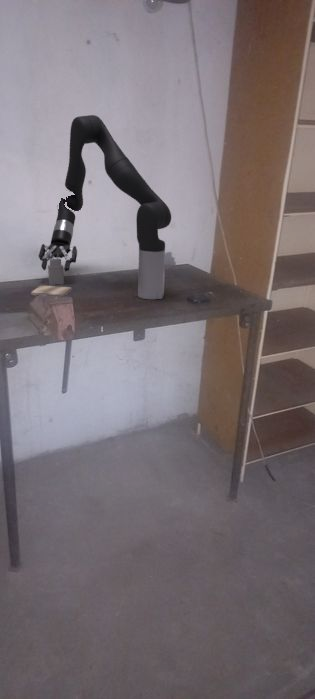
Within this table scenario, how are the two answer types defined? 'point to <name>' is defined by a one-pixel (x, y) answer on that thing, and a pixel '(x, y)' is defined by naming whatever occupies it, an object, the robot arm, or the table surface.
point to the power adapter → (55, 271)
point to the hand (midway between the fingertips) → (54, 269)
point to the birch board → (51, 290)
